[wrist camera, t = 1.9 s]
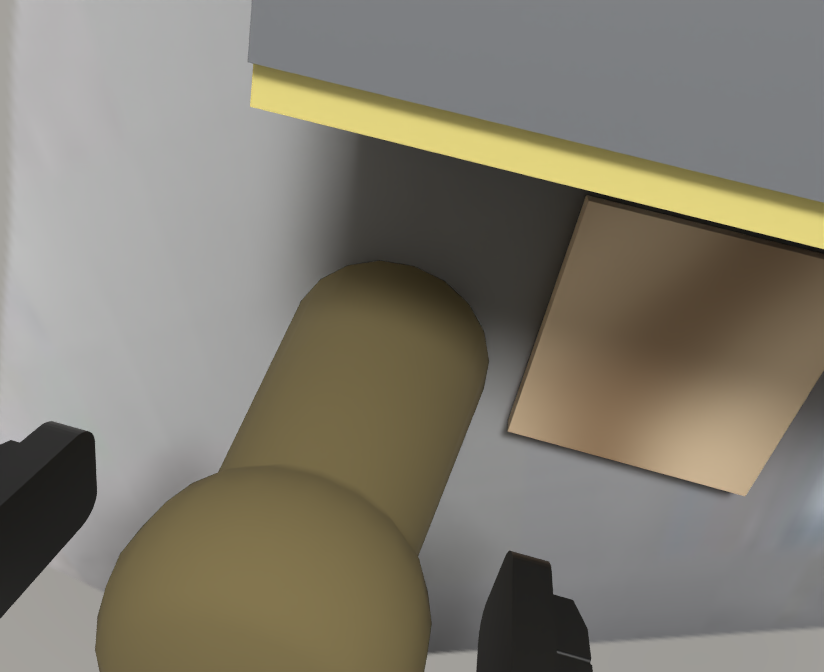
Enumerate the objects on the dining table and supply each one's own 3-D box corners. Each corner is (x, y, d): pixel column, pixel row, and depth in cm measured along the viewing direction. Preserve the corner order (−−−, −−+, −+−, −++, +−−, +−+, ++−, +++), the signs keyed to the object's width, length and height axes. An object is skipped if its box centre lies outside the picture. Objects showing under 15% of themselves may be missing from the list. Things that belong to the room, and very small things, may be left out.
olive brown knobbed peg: (488, 446, 19) (447, 884, 9) (303, 435, 20) (88, 817, 10) (489, 261, 16) (434, 598, 6) (276, 259, 17) (-49, 548, 7)
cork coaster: (870, 265, 15) (883, 274, 14) (738, 482, 18) (745, 496, 17) (586, 194, 15) (588, 200, 14) (508, 419, 18) (507, 431, 18)
